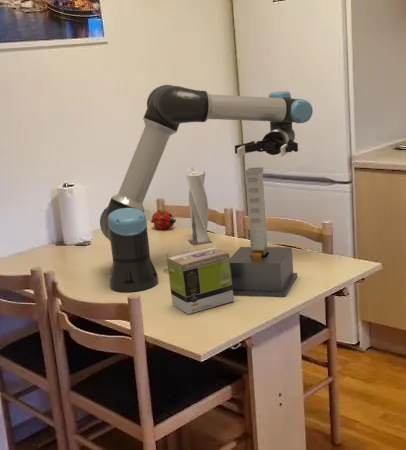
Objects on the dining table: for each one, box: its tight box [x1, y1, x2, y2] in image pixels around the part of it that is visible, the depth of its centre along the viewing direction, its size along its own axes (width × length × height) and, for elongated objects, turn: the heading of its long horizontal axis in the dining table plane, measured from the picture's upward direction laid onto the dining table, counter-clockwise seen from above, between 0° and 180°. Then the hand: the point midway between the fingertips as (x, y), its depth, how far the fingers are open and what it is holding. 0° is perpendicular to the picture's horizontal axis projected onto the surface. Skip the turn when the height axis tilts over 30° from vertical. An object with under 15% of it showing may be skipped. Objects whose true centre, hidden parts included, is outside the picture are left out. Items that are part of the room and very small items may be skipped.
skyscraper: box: [185, 166, 213, 246], centre depth 260 cm, size 8×8×28 cm
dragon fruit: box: [150, 209, 177, 231], centre depth 286 cm, size 8×8×12 cm
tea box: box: [166, 246, 235, 315], centre depth 197 cm, size 15×10×15 cm
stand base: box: [229, 246, 298, 298], centre depth 208 cm, size 18×18×11 cm
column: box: [243, 167, 269, 256], centre depth 204 cm, size 6×4×25 cm
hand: (259, 152), depth 212 cm, fingers open, 13 cm apart
